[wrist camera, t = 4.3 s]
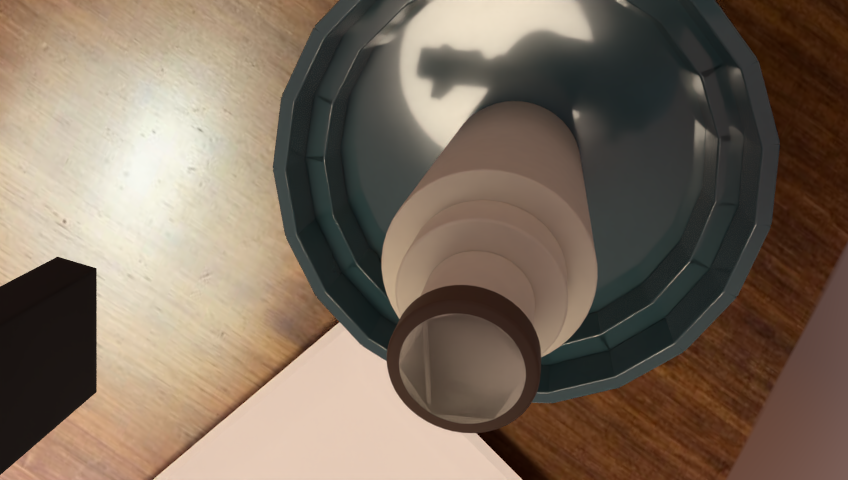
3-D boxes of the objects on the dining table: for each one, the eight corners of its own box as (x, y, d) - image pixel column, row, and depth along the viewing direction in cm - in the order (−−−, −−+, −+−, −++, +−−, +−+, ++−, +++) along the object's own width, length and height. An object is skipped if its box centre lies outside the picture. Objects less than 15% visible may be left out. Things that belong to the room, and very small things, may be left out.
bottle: (599, 120, 26) (659, 284, 11) (557, 244, 29) (560, 521, 13) (465, 86, 27) (346, 197, 12) (435, 210, 29) (304, 438, 14)
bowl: (821, -6, 24) (884, -8, 19) (645, 389, 31) (661, 456, 27) (352, -111, 26) (308, -136, 21) (294, 285, 33) (252, 330, 29)
